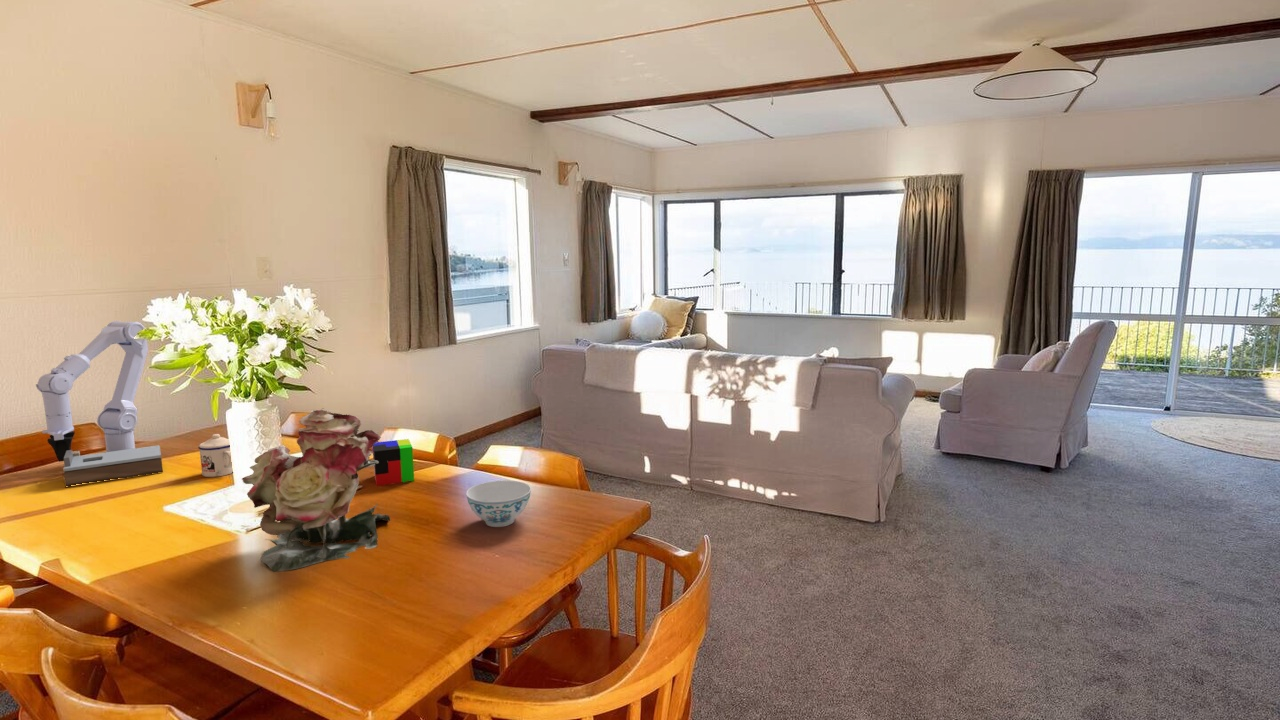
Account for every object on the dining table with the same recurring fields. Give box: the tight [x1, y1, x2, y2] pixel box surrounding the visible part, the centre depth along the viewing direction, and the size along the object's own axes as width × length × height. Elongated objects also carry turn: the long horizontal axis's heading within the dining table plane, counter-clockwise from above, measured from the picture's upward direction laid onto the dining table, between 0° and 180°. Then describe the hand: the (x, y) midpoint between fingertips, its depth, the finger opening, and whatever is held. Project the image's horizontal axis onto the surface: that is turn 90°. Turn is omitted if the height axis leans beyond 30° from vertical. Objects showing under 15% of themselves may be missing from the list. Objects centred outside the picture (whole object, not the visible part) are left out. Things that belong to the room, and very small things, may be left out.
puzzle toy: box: [372, 438, 415, 487], centre depth 190 cm, size 10×10×10 cm
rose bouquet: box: [241, 407, 391, 573], centre depth 142 cm, size 26×29×30 cm
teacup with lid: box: [198, 433, 233, 478], centre depth 195 cm, size 12×9×12 cm
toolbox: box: [63, 457, 164, 487], centre depth 195 cm, size 14×22×4 cm, turn 127°
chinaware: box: [465, 480, 532, 528], centre depth 157 cm, size 15×15×8 cm
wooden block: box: [72, 450, 81, 457], centre depth 197 cm, size 3×3×6 cm
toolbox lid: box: [62, 444, 162, 472], centre depth 195 cm, size 14×22×3 cm, turn 127°
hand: (64, 458), depth 196 cm, fingers open, 4 cm apart
